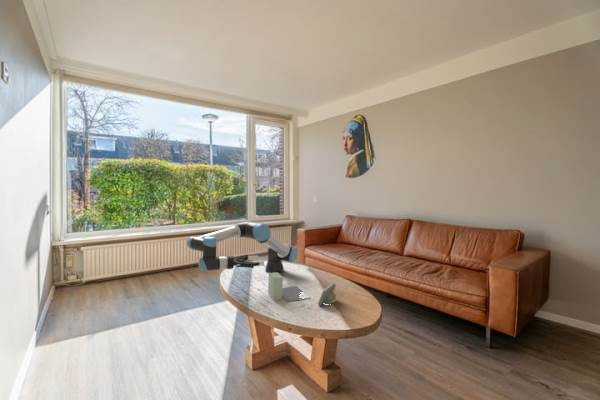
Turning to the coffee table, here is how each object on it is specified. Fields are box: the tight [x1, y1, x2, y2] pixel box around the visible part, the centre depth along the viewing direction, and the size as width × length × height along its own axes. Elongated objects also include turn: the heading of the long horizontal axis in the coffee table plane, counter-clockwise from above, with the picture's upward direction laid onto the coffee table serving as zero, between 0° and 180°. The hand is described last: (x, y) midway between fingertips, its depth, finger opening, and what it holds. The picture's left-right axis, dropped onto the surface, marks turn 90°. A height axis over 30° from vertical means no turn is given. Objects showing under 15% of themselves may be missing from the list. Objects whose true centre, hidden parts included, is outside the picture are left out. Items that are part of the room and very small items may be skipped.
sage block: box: [267, 272, 284, 301], centre depth 183 cm, size 6×10×14 cm, turn 24°
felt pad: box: [282, 285, 304, 303], centre depth 189 cm, size 16×22×1 cm
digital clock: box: [317, 283, 337, 306], centre depth 176 cm, size 16×9×11 cm, turn 139°
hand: (260, 260), depth 178 cm, fingers open, 13 cm apart
